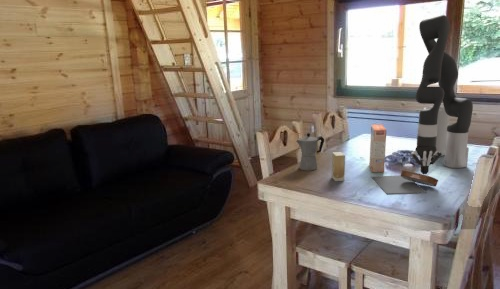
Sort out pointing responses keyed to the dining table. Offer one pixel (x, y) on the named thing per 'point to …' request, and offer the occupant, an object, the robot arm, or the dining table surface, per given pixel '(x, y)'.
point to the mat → (397, 185)
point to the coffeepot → (309, 151)
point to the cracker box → (377, 148)
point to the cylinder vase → (441, 130)
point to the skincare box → (338, 166)
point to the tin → (419, 178)
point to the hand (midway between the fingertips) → (424, 173)
